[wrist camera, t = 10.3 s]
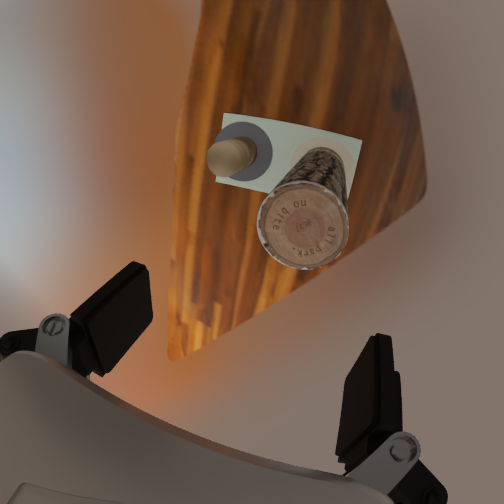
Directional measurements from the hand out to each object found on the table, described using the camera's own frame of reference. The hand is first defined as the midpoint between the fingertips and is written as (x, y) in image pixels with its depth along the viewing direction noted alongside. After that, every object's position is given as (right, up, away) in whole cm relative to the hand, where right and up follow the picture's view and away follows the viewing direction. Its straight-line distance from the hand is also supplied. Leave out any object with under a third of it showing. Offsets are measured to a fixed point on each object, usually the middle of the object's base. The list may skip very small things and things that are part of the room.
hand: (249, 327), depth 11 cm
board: (+5, +18, +33) cm, 38 cm away
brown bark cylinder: (+11, +16, +31) cm, 36 cm away
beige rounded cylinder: (-1, +19, +33) cm, 38 cm away
